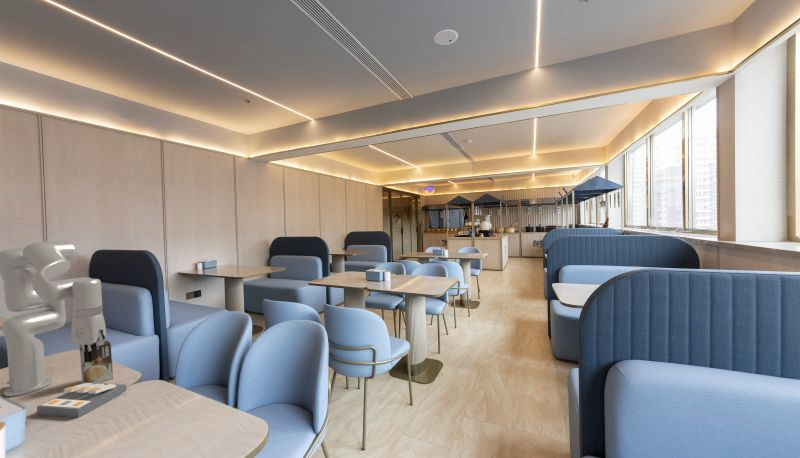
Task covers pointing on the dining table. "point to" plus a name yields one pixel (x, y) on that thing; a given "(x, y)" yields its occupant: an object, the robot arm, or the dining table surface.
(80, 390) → the rocker
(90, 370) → the coffee box
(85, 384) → the rocker
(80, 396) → the switch unit
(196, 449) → the dining table surface
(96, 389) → the rocker
